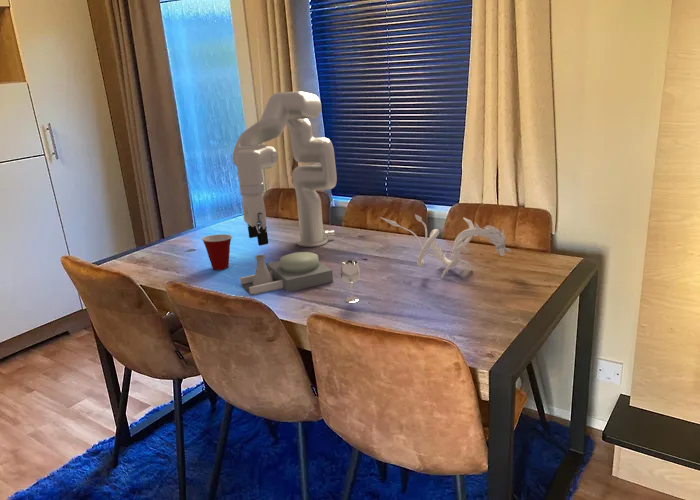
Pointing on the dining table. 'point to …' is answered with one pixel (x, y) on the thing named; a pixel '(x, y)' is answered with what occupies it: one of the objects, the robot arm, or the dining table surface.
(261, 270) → the flask
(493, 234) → the white dragon statue
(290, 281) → the two-pronged domed base
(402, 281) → the dining table surface
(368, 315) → the dining table surface
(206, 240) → the plastic cup
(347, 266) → the wineglass
